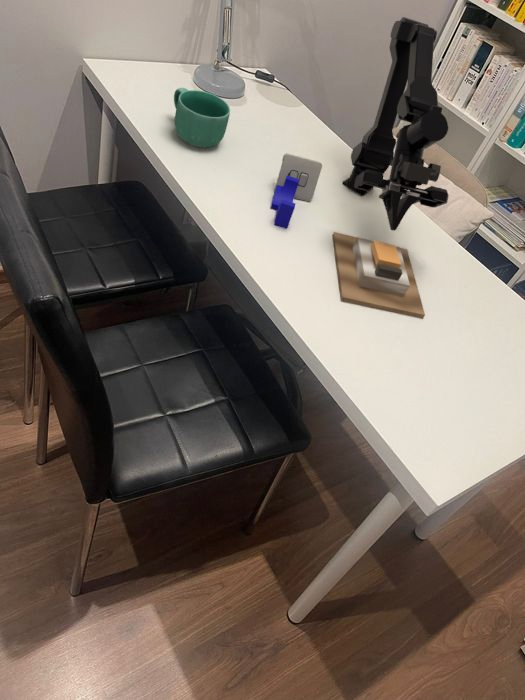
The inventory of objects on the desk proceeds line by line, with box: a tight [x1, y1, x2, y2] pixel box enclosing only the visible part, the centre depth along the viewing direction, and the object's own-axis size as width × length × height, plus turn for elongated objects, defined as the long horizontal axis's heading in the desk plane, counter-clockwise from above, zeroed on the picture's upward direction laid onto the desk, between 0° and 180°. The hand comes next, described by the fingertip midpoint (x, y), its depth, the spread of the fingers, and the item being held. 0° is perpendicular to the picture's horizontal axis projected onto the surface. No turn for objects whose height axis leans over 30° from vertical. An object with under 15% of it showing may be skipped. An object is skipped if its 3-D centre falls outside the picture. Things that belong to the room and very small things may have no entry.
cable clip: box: [270, 176, 299, 230], centre depth 129 cm, size 12×4×6 cm, turn 173°
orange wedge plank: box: [371, 240, 402, 269], centre depth 120 cm, size 7×5×2 cm
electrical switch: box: [273, 152, 323, 202], centre depth 135 cm, size 9×5×9 cm, turn 90°
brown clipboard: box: [331, 231, 426, 319], centre depth 122 cm, size 22×18×6 cm
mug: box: [173, 87, 231, 148], centre depth 140 cm, size 17×13×10 cm
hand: (393, 230), depth 119 cm, fingers closed
